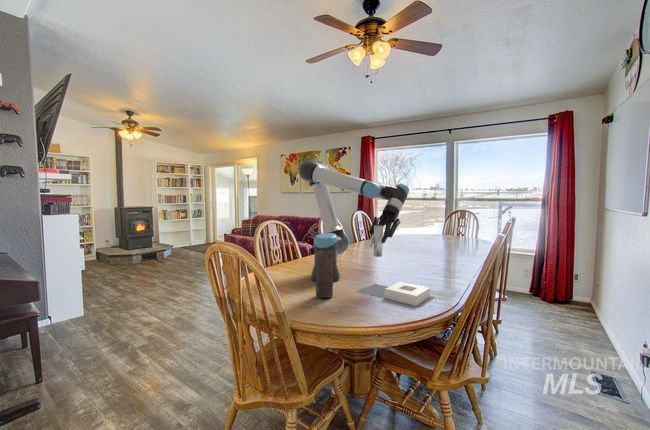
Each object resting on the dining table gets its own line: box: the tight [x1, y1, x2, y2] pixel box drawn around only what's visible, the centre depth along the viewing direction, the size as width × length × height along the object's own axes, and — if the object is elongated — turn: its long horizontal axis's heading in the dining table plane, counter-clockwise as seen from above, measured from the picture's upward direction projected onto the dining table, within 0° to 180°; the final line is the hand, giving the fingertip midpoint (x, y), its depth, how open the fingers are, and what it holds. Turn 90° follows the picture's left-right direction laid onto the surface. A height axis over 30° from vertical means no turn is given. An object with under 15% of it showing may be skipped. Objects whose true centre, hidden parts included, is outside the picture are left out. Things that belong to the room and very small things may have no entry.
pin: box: [372, 225, 384, 258], centre depth 140 cm, size 4×4×14 cm
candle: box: [315, 251, 334, 299], centre depth 130 cm, size 8×7×20 cm
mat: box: [356, 283, 436, 309], centre depth 133 cm, size 30×16×1 cm, turn 50°
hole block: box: [385, 281, 431, 306], centre depth 129 cm, size 14×14×4 cm
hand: (373, 247), depth 137 cm, fingers closed on pin, 4 cm apart
